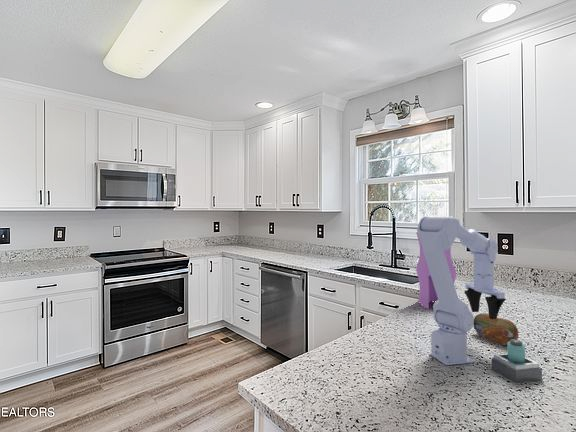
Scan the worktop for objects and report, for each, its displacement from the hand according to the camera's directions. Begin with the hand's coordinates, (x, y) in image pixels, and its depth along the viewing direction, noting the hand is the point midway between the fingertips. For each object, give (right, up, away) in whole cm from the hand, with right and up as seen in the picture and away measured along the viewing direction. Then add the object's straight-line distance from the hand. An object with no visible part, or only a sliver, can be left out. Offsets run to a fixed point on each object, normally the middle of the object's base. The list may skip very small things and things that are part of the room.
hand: (483, 315), depth 108 cm
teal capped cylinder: (-2, -7, -19) cm, 20 cm away
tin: (+7, -11, +5) cm, 14 cm away
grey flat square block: (-3, -10, -19) cm, 22 cm away
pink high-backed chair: (+6, -11, +49) cm, 51 cm away
